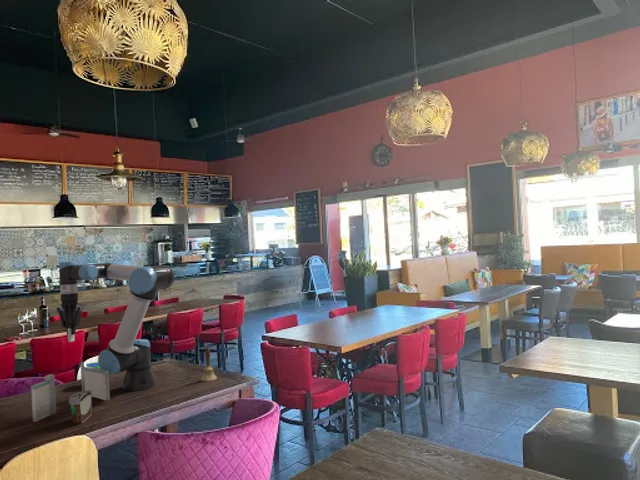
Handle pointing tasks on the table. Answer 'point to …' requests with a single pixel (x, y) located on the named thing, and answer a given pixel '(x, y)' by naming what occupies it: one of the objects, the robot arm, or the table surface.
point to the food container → (80, 406)
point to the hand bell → (208, 369)
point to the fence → (47, 396)
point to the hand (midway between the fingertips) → (71, 341)
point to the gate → (97, 382)
